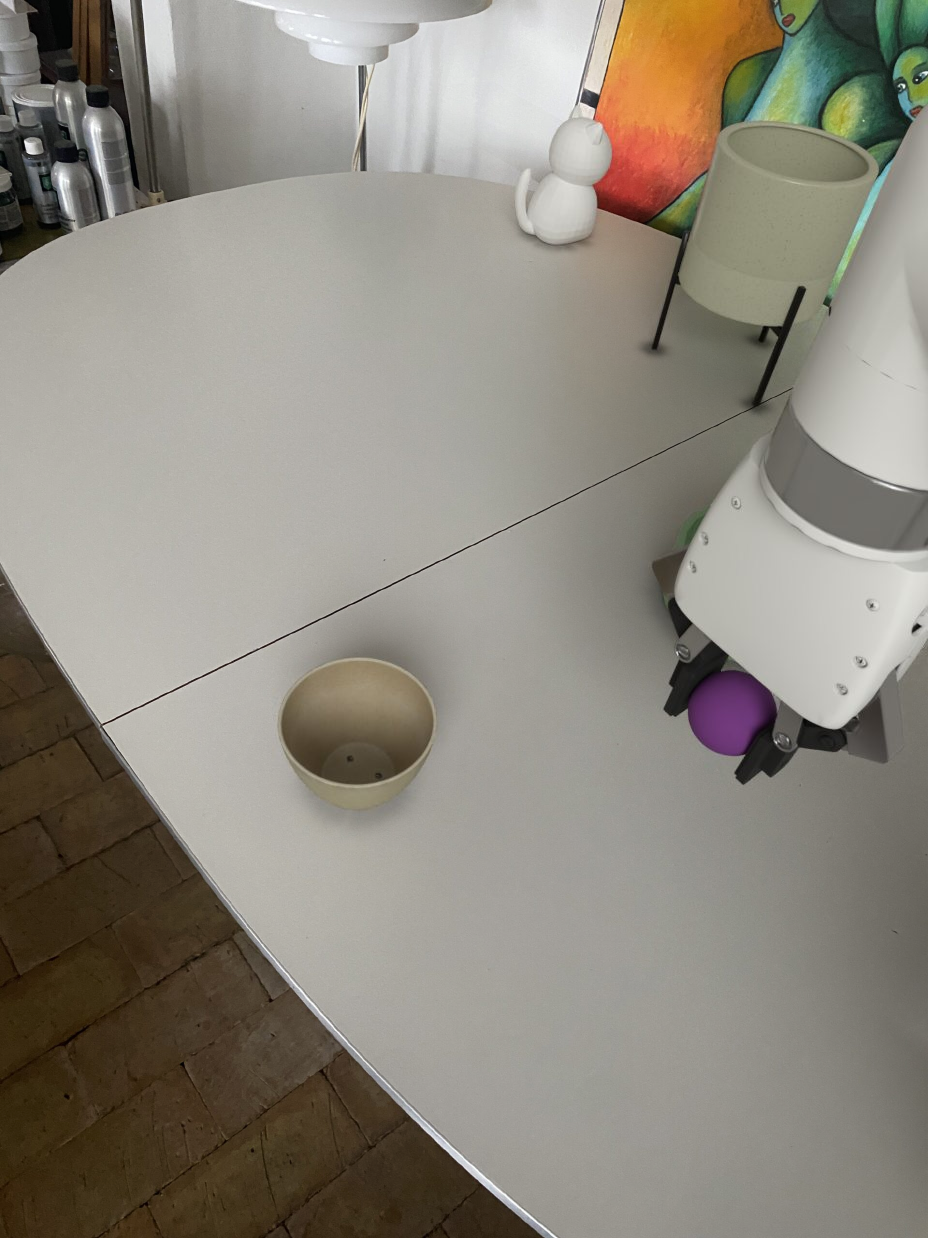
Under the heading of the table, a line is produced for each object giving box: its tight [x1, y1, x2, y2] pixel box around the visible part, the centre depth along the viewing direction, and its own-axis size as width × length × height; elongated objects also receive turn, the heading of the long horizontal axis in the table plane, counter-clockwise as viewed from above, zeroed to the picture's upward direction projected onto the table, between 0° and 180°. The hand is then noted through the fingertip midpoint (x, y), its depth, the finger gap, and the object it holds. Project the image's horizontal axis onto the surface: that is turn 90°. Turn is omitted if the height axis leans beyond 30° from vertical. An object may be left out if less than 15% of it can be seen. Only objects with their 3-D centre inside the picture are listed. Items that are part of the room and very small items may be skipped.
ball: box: [687, 669, 778, 757], centre depth 45 cm, size 4×4×4 cm
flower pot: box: [277, 656, 438, 811], centre depth 58 cm, size 10×10×7 cm
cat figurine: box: [514, 104, 613, 246], centre depth 112 cm, size 9×12×15 cm
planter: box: [651, 120, 880, 408], centre depth 91 cm, size 15×16×23 cm
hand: (721, 732), depth 46 cm, fingers closed on ball, 4 cm apart
